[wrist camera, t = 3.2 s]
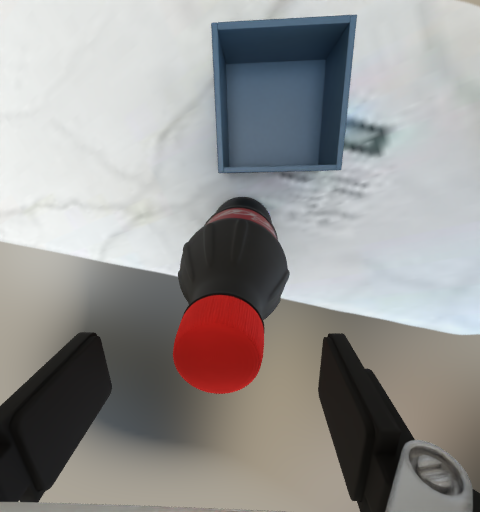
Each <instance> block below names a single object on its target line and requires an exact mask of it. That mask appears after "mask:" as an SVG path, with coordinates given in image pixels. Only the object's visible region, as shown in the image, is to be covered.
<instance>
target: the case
mask: <svg viewBox="0 0 480 512" xmlns="http://www.w3.org/2000/svg"><path fill="white" fill-rule="evenodd" d="M356 19H357V15H351V16H350V15H342V16H324V17H306V18H288V19H270V20H253V21H235V22H218V23H211V28H212V49H213V70H214V90H215V111H216V132H217V153H218V173H247V172H288V171H328V170H341V166H342V157H343V147H344V137H345V127H346V117H347V108H348V98H349V88H350V78H351V68H352V58H353V49H354V39H355V29H356Z"/></svg>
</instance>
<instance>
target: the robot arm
mask: <svg viewBox="0 0 480 512" xmlns="http://www.w3.org/2000/svg"><path fill="white" fill-rule="evenodd" d="M111 389H112V384H111V380H110V376H109V372H108V368H107V364H106V359H105V355H104V351H103V347H102V342H101V339H100V337H99V336H97V334H96V333H90V332H89V333H86V332H82V333H78V334H77V335H76V336H75V337H74V338H73V339H72V340H71V341H70V342H69V343H67V344H66V345H65V346H64V347H63V348H62V349H61V350H60V351H59V352H58V353H57V354H56V355H55V356H53V357H52V358H51V359H50V360H49V361H48V362H47V363H46V364H45V365H44V366H43V367H42V368H41V369H39V370H38V371H37V372H36V373H35V374H34V375H33V376H32V377H31V378H30V379H29V380H28V381H27V382H26V383H25V384H23V385H22V386H21V387H20V388H19V389H18V390H17V391H16V392H15V393H14V394H13V395H12V396H11V397H10V398H9V399H7V400H6V401H5V402H4V403H3V404H2V405H1V406H0V512H283V511H259V510H237V509H212V508H187V507H161V506H133V505H132V506H131V505H104V504H70V503H68V504H67V503H38V502H39V500H40V498H41V497H42V495H43V493H44V492H45V491H46V490H48V489H50V488H51V487H52V485H53V484H54V482H55V481H56V479H57V478H58V476H59V474H60V473H61V471H62V470H63V468H64V467H65V465H66V463H67V462H68V460H69V458H70V457H71V455H72V454H73V452H74V451H75V449H76V448H77V446H78V444H79V443H80V441H81V440H82V438H83V436H84V435H85V433H86V432H87V430H88V429H89V427H90V425H91V424H92V422H93V421H94V419H95V417H96V416H97V414H98V413H99V411H100V410H101V408H102V406H103V405H104V403H105V401H106V400H107V398H108V397H109V395H110V393H111ZM318 392H319V398H320V401H321V404H322V408H323V411H324V414H325V417H326V421H327V424H328V427H329V431H330V434H331V437H332V440H333V444H334V446H335V450H336V453H337V457H338V460H339V463H340V466H341V469H342V473H343V476H344V479H345V482H346V486H347V489H348V492H349V495H350V498H351V500H352V501H357V503H358V506H359V509H360V512H480V493H478V492H477V491H475V490H473V489H472V485H471V481H470V479H469V477H468V475H467V473H466V471H465V470H464V469H463V468H462V467H461V465H460V464H459V463H458V462H457V461H456V460H455V459H454V458H453V457H452V456H451V455H450V454H449V453H447V452H446V451H444V450H443V449H441V448H440V447H438V446H436V445H434V444H431V443H429V442H425V441H421V440H415V439H414V438H413V436H412V434H411V433H410V431H409V430H408V428H407V426H406V425H405V423H404V422H403V420H402V418H401V417H400V415H399V413H398V412H397V410H396V408H395V407H394V405H393V404H392V402H391V400H390V399H389V397H388V396H387V394H386V392H385V391H384V389H383V387H382V386H381V384H380V383H379V381H378V379H377V378H376V376H375V375H374V373H373V372H372V370H370V369H364V367H363V365H362V364H361V362H360V360H359V358H358V357H357V355H356V353H355V352H354V350H353V348H352V347H351V345H350V343H349V341H348V340H347V338H346V336H345V335H344V334H328V337H324V339H323V347H322V357H321V367H320V377H319V387H318ZM19 500H20V502H18V501H19Z"/></svg>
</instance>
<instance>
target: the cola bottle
mask: <svg viewBox="0 0 480 512" xmlns="http://www.w3.org/2000/svg"><path fill="white" fill-rule="evenodd" d="M288 278H289V270H288V268H287V261H286V257H285V254H284V251H283V249H282V247H281V245H280V243H279V242H278V238H277V234H276V231H275V229H274V227H273V225H272V222H271V218H270V215H269V213H268V211H267V210H266V208H265V207H264V206H263V205H262V204H261V203H259V202H258V201H256V200H254V199H251V198H247V197H237V198H233V199H230V200H228V201H227V202H225V203H224V204H223V205H221V206H220V208H219V209H218V210H217V212H216V213H215V214H214V215H213V216H212V217H211V218H210V219H209V220H208V221H207V222H206V224H205V225H204V227H202V228H201V229H200V230H199V231H197V232H196V233H195V234H194V236H193V237H192V238H191V239H190V240H189V242H187V243H185V245H184V247H183V254H182V258H181V265H180V271H179V272H178V279H179V283H180V287H181V290H182V292H183V295H184V297H185V298H186V300H187V301H188V303H189V306H188V307H187V309H186V311H185V312H184V315H183V317H182V320H181V323H180V326H179V329H178V332H177V335H176V339H175V343H174V351H173V357H174V363H175V366H176V369H177V370H178V372H179V374H180V375H181V376H182V378H184V379H185V381H187V382H188V383H189V384H191V385H192V386H194V387H196V388H198V389H200V390H203V391H205V392H210V393H216V394H217V393H219V394H220V393H221V394H223V393H224V394H225V393H230V392H234V391H238V390H240V389H242V388H244V387H245V386H247V385H248V384H249V383H251V382H252V381H253V379H254V378H255V377H256V376H257V374H258V372H259V369H260V366H261V362H262V358H263V349H264V348H263V347H264V322H263V320H264V319H266V318H267V317H268V316H269V315H270V314H271V313H272V312H273V311H274V309H275V308H276V307H277V305H278V304H279V302H280V296H281V294H282V292H283V289H284V287H285V284H286V282H287V280H288Z"/></svg>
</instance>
